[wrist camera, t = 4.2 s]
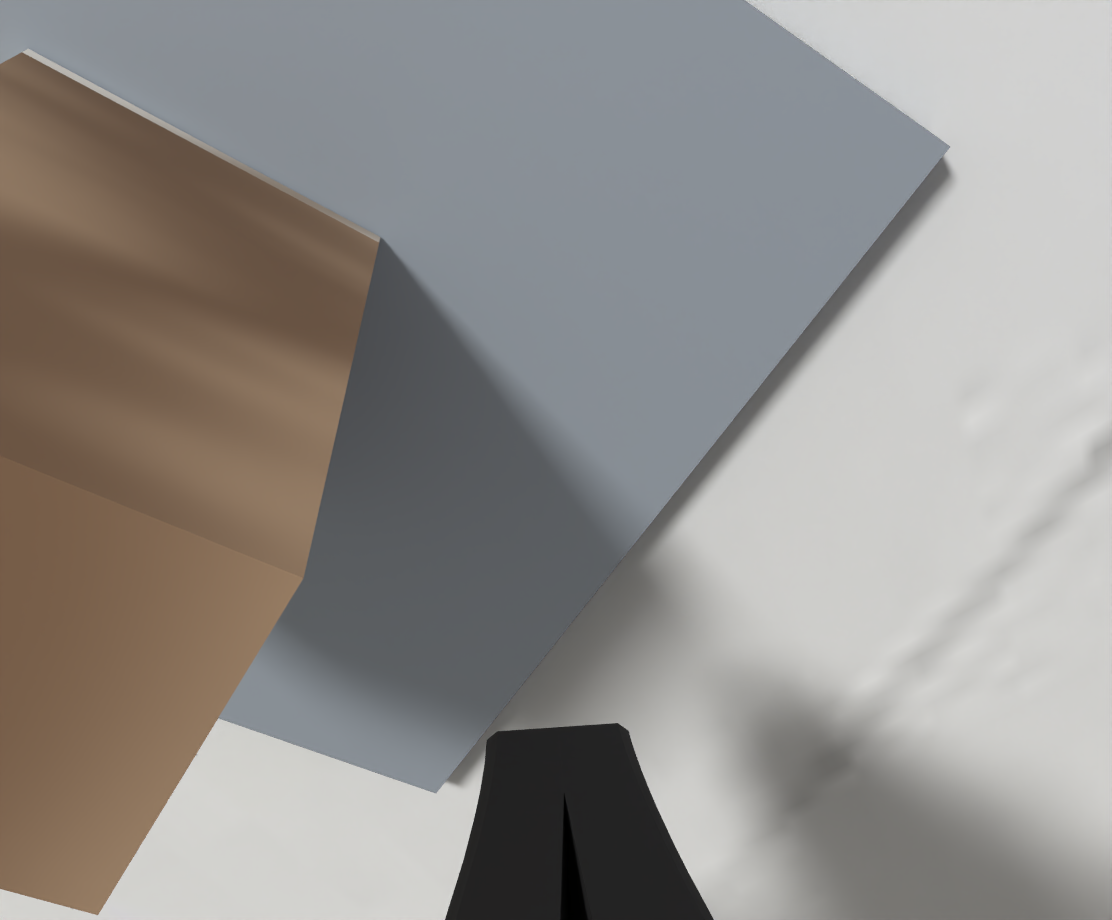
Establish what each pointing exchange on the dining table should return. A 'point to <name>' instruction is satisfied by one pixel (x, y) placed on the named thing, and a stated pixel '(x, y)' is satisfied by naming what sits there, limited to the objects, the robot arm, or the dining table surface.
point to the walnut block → (145, 455)
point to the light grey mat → (509, 299)
